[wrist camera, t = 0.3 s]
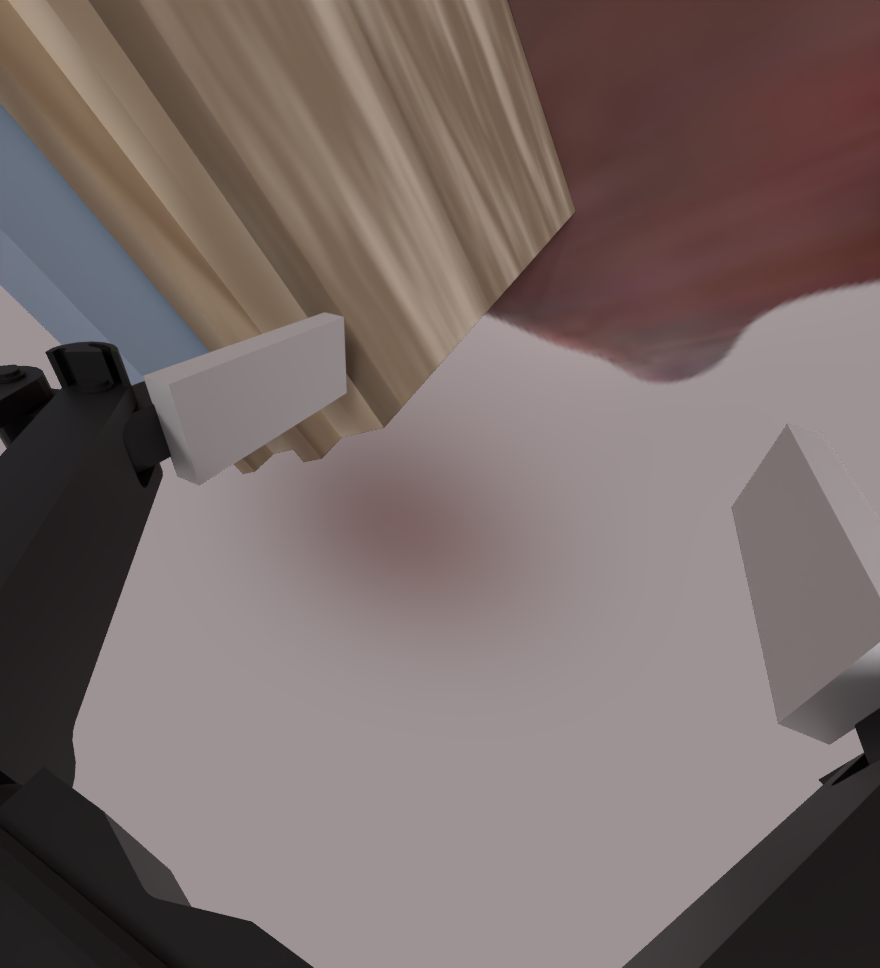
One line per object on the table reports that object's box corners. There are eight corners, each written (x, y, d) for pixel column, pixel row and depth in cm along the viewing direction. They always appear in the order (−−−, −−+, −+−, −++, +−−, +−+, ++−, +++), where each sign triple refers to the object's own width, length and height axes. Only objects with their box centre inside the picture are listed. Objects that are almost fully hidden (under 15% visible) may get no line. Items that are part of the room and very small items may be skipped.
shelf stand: (464, -132, 26) (-295, -437, 7) (575, 211, 35) (364, 450, 17) (331, 43, 35) (-152, 101, 17) (447, 277, 44) (221, 478, 26)
